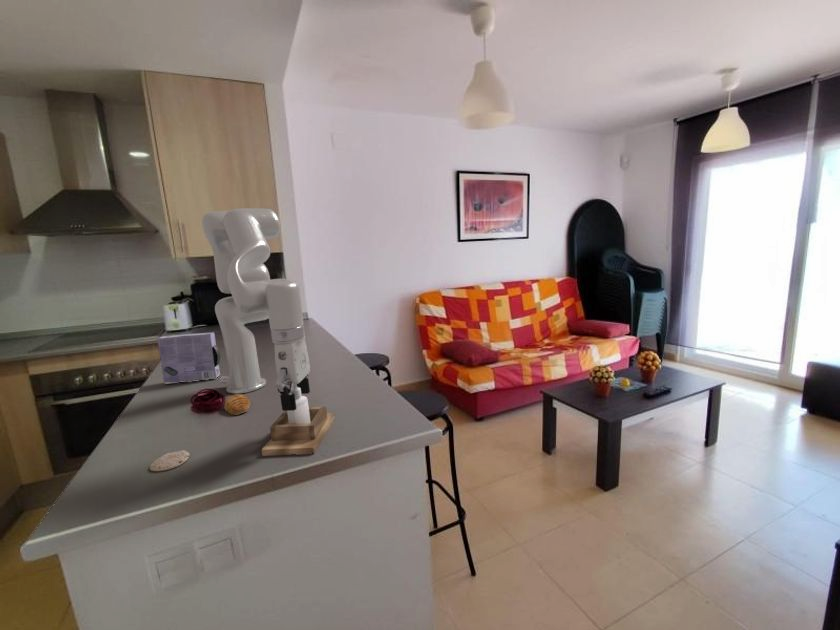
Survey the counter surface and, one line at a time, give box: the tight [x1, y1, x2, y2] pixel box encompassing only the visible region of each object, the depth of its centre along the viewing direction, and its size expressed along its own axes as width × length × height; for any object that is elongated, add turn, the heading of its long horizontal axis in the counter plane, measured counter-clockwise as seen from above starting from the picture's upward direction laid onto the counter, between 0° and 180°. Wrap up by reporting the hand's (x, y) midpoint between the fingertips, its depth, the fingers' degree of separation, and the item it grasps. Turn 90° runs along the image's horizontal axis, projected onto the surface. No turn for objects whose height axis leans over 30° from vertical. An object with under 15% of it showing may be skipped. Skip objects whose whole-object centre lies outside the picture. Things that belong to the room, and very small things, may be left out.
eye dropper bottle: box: [287, 383, 311, 424], centre depth 95 cm, size 4×6×12 cm
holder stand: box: [261, 406, 336, 457], centre depth 95 cm, size 12×18×5 cm, turn 178°
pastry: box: [223, 393, 251, 416], centre depth 114 cm, size 9×7×4 cm
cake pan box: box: [157, 331, 221, 384], centre depth 142 cm, size 19×5×18 cm, turn 100°
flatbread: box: [149, 449, 190, 472], centre depth 88 cm, size 8×8×1 cm
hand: (296, 401), depth 95 cm, fingers open, 9 cm apart
